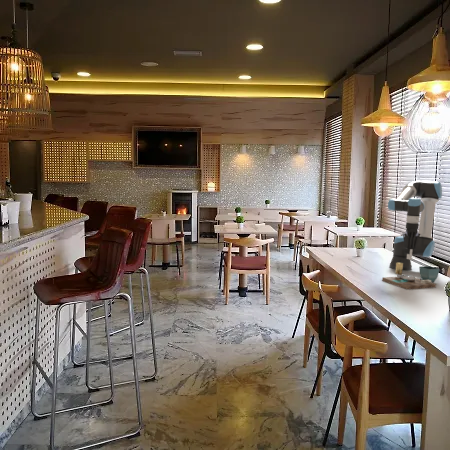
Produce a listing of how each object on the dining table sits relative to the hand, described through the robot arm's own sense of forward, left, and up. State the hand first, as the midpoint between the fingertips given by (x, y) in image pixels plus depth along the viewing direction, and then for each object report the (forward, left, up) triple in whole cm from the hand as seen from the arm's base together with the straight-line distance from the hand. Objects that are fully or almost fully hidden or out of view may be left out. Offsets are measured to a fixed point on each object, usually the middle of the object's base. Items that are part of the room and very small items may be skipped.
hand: (409, 259), depth 305 cm
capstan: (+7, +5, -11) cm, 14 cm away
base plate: (+7, +9, -14) cm, 18 cm away
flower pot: (-12, +6, -14) cm, 19 cm away
